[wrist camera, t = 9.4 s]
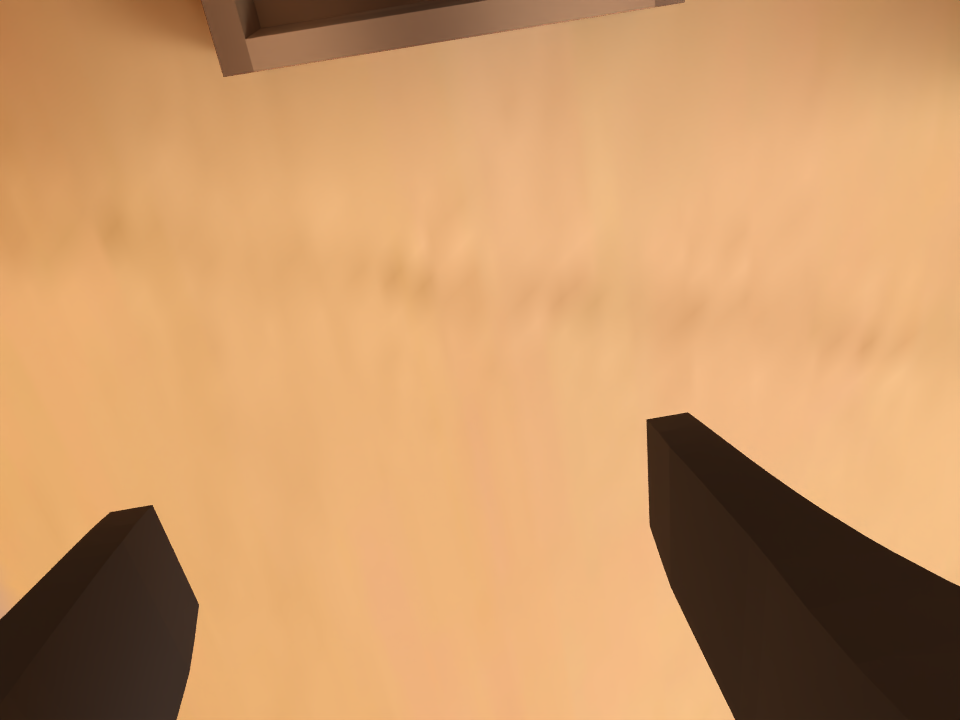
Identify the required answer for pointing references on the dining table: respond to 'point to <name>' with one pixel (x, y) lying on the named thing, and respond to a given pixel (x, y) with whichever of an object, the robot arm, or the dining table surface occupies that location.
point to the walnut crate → (374, 25)
